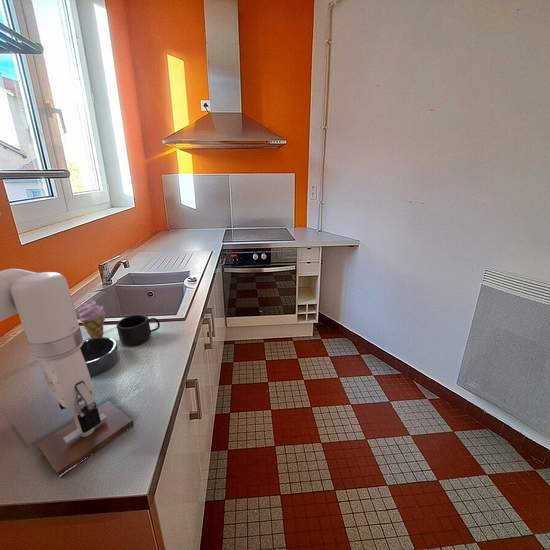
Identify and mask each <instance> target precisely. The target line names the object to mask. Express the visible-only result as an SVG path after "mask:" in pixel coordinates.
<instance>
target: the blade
mask: <svg viewBox="0 0 550 550" xmlns="http://www.w3.org/2000/svg"><path fill="white" fill-rule="evenodd" d="M79 398H80V397H78V398H77V399H79ZM77 399H76V400H77ZM79 405H80V407H81V408H83V407H84V406H85V403H84V401H81V402H79ZM70 410H71V413H72V417H73V419H74V422H76V425H77V428H78V429H77V430H75V431H73V432H72V433H70V434H69V435H67V436H65V437H64V438H63V440H64V441H65V442H66V443H67V444H68V443H70V442H71V441H73V440H74V439H76V438H77V437H79V436H81V437H86V436H88V435H90V434H91V433H92V432H93V431H94V427H93V428H92V429H90V430H89V431H87V432H86V433H83V432H82V430H81V427H80V424H79V420H78V417H77V416H78V415H79V414H78V412H77V410H76V408H75V406H74V405H73V406H71V407H70ZM99 416H100V419H101V422H102V421H104V420H105V419H107V416H105V415H104V414H103V413H102V414H100V415H99ZM101 422H100V423H101Z"/></svg>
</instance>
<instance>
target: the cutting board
mask: <svg viewBox="0 0 550 550" xmlns="http://www.w3.org/2000/svg"><path fill="white" fill-rule="evenodd" d="M97 409H98V412H99V415H100V414H102V413H103V414H104V415H105V416H107V419H105V420H104V421H102V422H101V423H100V424H98V425H97V426H95V427H94V431H93V432H92V433H91V434H90V435H88V436H86V437H81V436H79V437H77V438H76V439H74V440H73V441H71V442H70V443H68V444H67V443H66V442H65V441H64V440H63V438H64V437H65V436H67V435H69V434H70V433H72V432H73V431H75V430H77V429H78V428H77V425H76V422H75V421H72V422H71V423H69V424H67V426H65V427H63V428H61V429H59V430H57V431H56V432H54V433H53V434H51V435H50V436H48V437H46V438H45V439H43V440H42V441H40V442H38V443H37V444H36V446H37V448H38V450H39V452H40V451H41V452H42V453H41V452H40V453H41V455H42V456H43V455H44V456H45V457H44V456H43V457H44V459H45V460H46V459H47V460H48V461H47V460H46V461H47V463H48V462H49V463H50V464H51V465H50V464H49V463H48V464H49V465H50V467H51V466H52V467H53V468H52V467H51V468H52V470H53V469H54V470H55V471H56V472H55V471H54V470H53V471H54V472H55V474H56V473H57V474H58V475H61V474H62V473H64V472H65V471H66V470H68V469H69V468H71V467H73V466H74V465H76V464H78V463H80V462H81V461H82V460H84V459H85V458H87V457H89V456H90V455H91V454H93V453H95V452H96V451H97V452H99V451H100V450H102V449H103V448H104V447H106V446H107V445H109V444H110V443H111V442H113V441H114V440H115V438H116V437H117V436H118V437H120V436H121V435H123V434H124V433H125V432H127V431H128V430H130V429H131V428H132V427H134V426H135V424H134V420H133V419H132V418H130V417H129V416H128V415H127V414H126V413H125V412H123V411H122V410H121V409H120V408H118V406H117V405H115V404H114V403H113V402H112V401H110V400H108V401H106V402H104V403H102V404H100V405H99V406H97ZM133 425H134V426H133ZM130 427H131V428H130ZM129 428H130V429H129ZM127 429H128V430H127ZM126 430H127V431H126ZM124 431H125V432H124ZM123 432H124V433H123ZM122 433H123V434H122ZM120 434H121V435H120ZM119 435H120V436H119ZM118 437H117V438H118ZM117 438H116V439H117ZM113 439H114V440H113ZM112 440H113V441H112ZM109 442H110V443H109ZM108 443H109V444H108ZM106 444H107V445H106ZM105 445H106V446H105ZM102 447H103V448H102ZM101 448H102V449H101ZM99 449H100V450H99ZM98 450H99V451H98ZM97 452H96V453H97ZM96 453H95V454H96ZM93 455H94V454H93ZM90 457H91V456H90ZM90 457H89V458H90ZM57 474H56V475H57ZM58 475H57V476H58Z"/></svg>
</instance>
